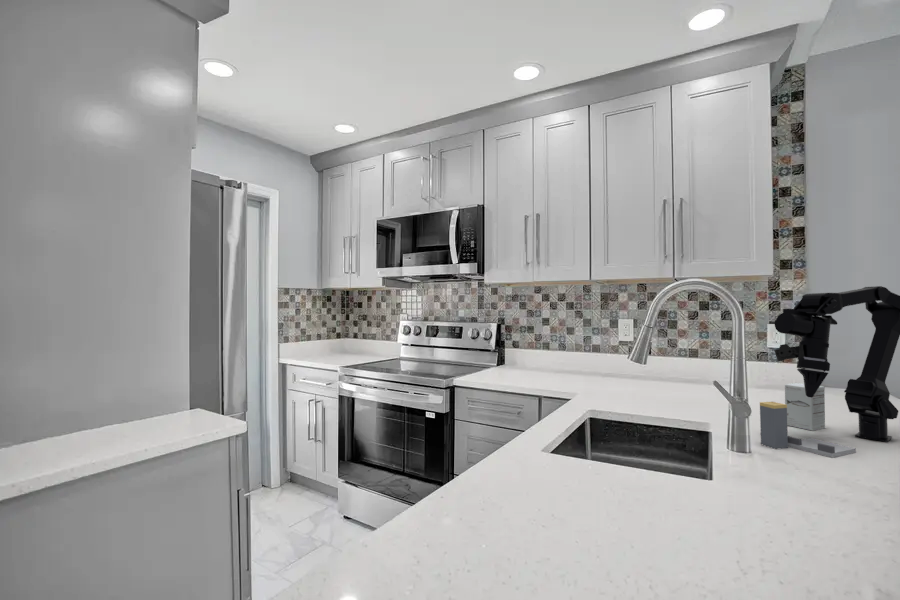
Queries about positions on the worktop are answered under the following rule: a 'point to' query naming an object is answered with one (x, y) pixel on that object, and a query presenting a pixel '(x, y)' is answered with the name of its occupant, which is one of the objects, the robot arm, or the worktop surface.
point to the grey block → (773, 424)
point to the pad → (820, 447)
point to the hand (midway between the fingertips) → (808, 396)
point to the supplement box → (805, 407)
